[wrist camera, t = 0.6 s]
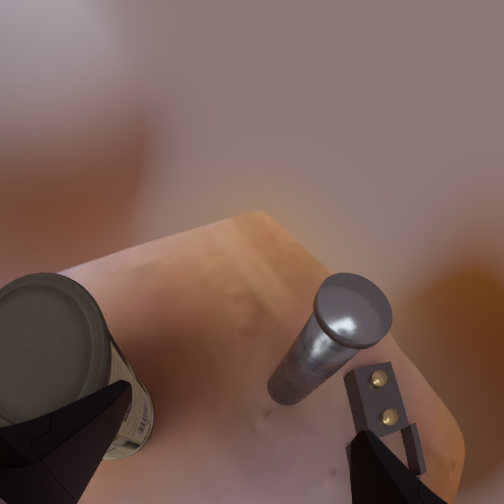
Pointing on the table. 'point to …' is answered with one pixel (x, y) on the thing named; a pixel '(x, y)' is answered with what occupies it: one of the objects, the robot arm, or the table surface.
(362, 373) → the riveted post bracket
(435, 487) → the table surface
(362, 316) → the link pin
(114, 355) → the coffee can
